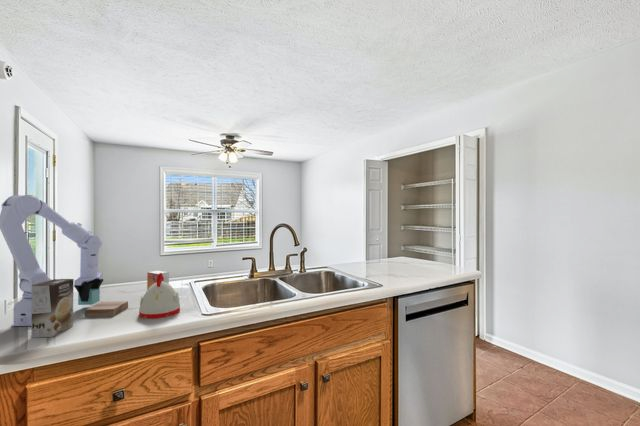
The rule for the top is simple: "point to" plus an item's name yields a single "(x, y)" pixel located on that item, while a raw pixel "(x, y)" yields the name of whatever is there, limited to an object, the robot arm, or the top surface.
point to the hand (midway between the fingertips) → (89, 299)
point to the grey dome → (159, 300)
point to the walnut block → (106, 309)
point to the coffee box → (52, 307)
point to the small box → (153, 277)
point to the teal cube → (91, 297)
